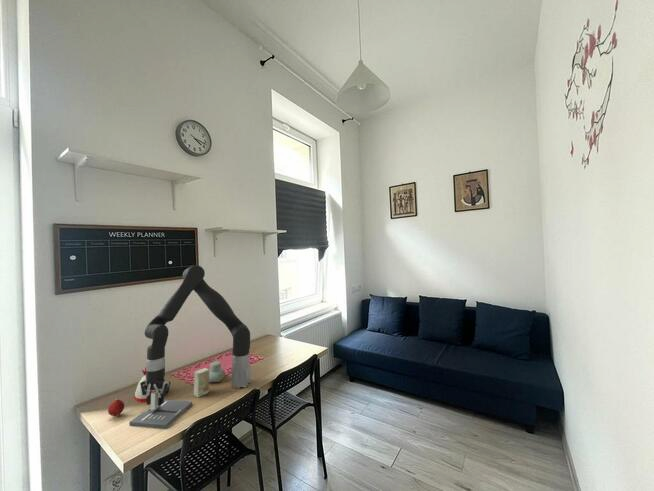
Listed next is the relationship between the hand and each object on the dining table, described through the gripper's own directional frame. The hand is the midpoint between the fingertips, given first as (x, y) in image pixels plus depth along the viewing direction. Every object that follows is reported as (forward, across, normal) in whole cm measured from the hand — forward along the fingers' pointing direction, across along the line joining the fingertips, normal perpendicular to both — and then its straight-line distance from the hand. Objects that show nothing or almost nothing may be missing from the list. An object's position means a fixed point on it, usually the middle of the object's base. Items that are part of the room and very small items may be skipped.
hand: (155, 404), depth 122 cm
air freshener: (+5, -10, -34) cm, 36 cm away
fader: (+2, 0, 0) cm, 2 cm away
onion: (+5, +16, +4) cm, 17 cm away
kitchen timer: (+5, +15, -15) cm, 22 cm away
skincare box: (+5, -11, -19) cm, 22 cm away
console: (+4, -4, 0) cm, 6 cm away
